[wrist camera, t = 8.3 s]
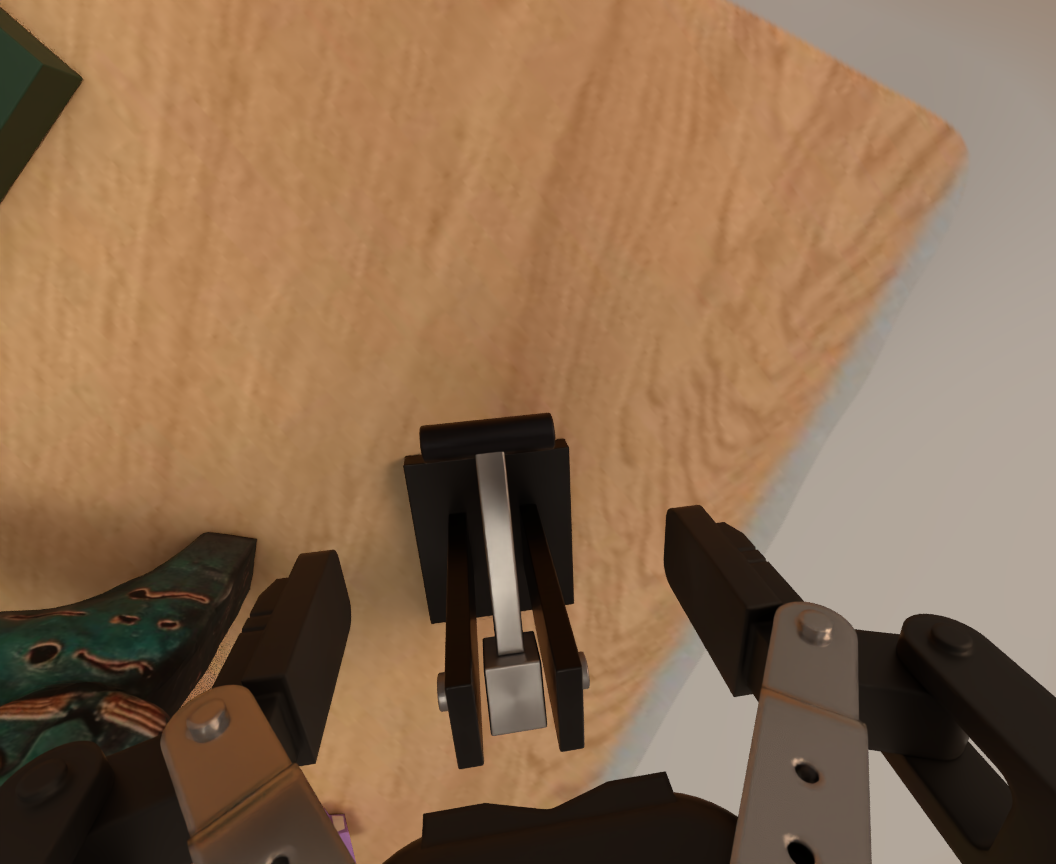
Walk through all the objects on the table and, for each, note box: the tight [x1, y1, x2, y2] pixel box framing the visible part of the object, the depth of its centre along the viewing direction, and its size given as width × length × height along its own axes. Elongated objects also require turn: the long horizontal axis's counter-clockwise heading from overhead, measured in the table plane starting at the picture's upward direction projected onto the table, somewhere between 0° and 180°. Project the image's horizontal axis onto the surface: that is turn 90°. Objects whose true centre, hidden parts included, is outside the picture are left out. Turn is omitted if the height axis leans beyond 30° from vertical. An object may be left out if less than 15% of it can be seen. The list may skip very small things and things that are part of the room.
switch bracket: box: [403, 439, 590, 769], centre depth 25 cm, size 11×9×13 cm
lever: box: [419, 413, 555, 736], centre depth 20 cm, size 12×5×2 cm, turn 3°
